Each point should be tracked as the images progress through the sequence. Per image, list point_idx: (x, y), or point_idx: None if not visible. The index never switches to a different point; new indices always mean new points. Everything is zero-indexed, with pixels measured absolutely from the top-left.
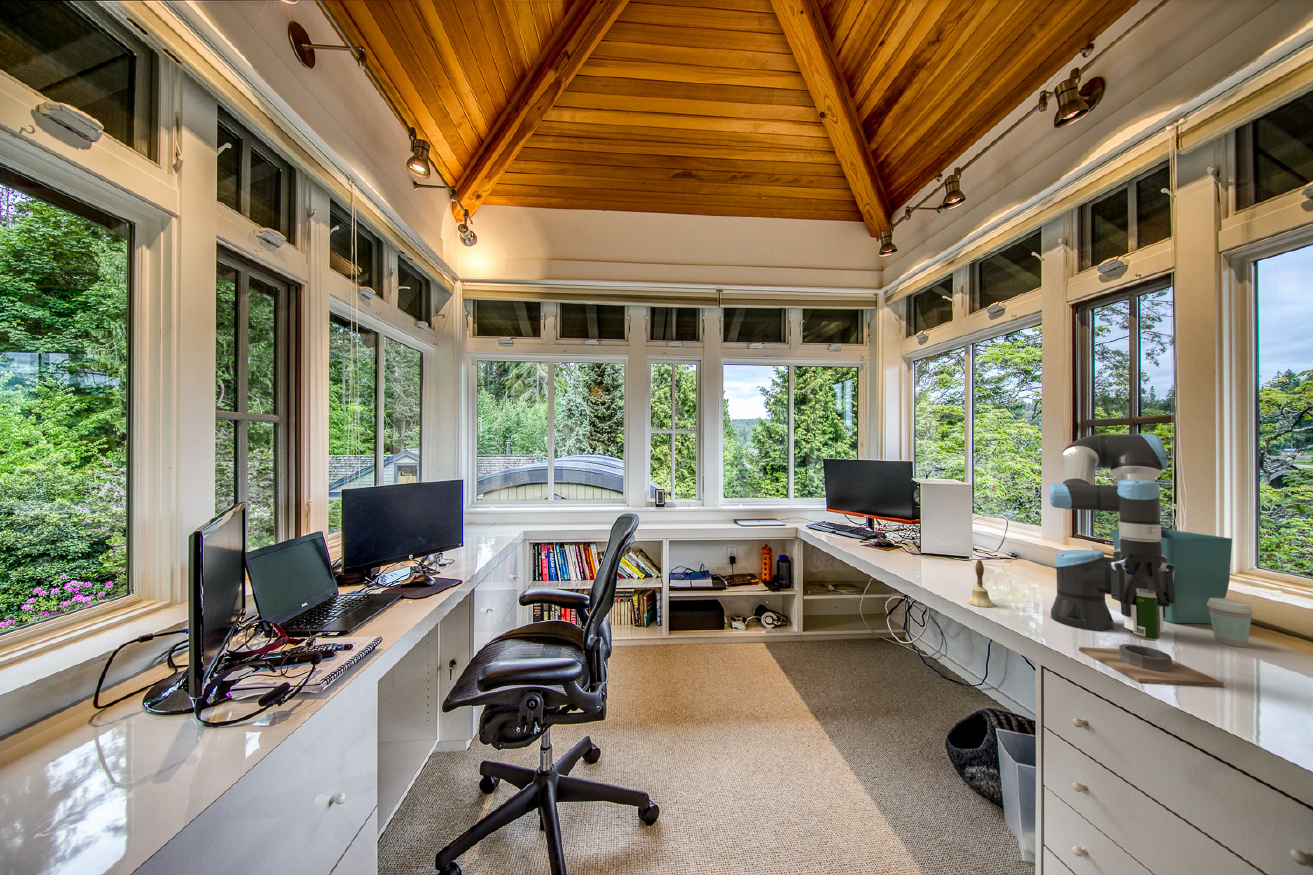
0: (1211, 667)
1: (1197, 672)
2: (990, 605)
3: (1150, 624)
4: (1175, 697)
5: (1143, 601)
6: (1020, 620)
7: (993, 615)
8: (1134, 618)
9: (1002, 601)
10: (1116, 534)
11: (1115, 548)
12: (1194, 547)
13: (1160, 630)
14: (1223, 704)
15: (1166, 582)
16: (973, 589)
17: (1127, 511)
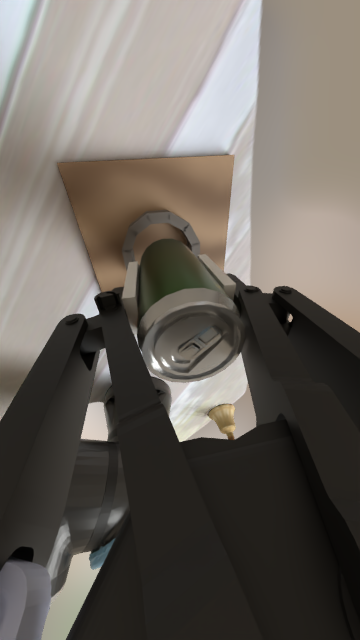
0: (34, 277)
1: (84, 221)
2: (218, 408)
3: (178, 248)
4: (216, 58)
5: (216, 283)
6: (214, 380)
7: (235, 385)
8: (213, 266)
9: (190, 423)
10: None
11: None
12: None
13: (137, 262)
14: (125, 14)
15: (53, 416)
16: (235, 427)
17: None
